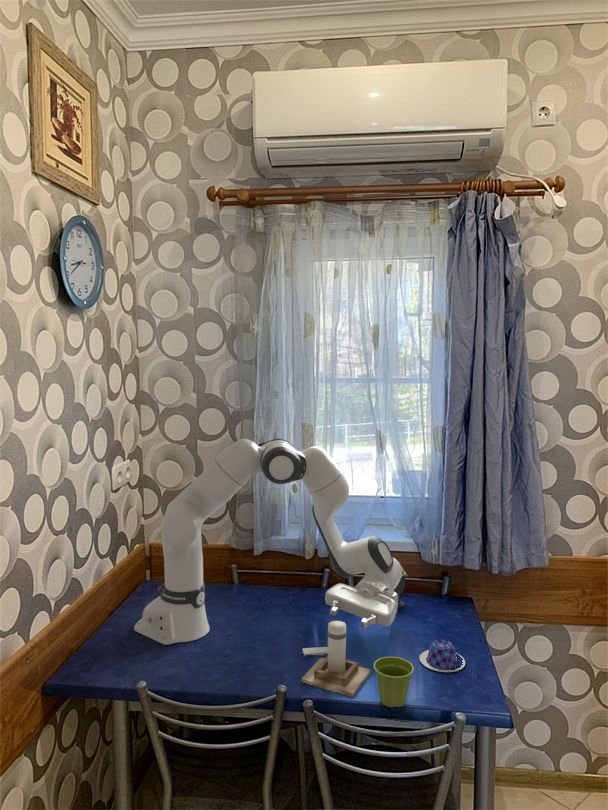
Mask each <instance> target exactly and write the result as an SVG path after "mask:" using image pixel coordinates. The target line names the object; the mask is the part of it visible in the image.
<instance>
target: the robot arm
mask: <svg viewBox="0 0 608 810" xmlns="http://www.w3.org/2000/svg"><path fill="white" fill-rule="evenodd" d="M259 473H262V474H263V476H264V477H265V478H266V479H267V480H268V481H270V483H273V484H276V485H285V484H289V483H292V482H295V481H299V480H301V481H302V482H303V484H304V485H305V487H306V489H307V490H308V492H309V493H310V495H311V498H312V502H313V505H312V508H311V512H312V516H313V519H314V521H315V524H316V527H317V530H318V531H319V532H318V533H320V536H321V538H322V541H323V543H324V546H325V548H326V550H327V552H328V555H329V559H330V563H331V567H332V568H333V570H334V572H335V573H336V574H337V575H339V576H340V577H342V578H344V579H348V578H352V577H354V576H357V575H359V574H364V576H363V578H361V580H360V581H359V582H358V583H357V584H356V585H355V586H352V585H349V584H346V583H342V582H338V583H337V584H335V585H333V586H332V587H330V588H328V590H327V591H326V592H325V597H324V598H325V600H324V601H325V604H326V605H327V606H328V605H329V606H330V607H331V608H330V610H329V615H331V616H333V617H336V616H337V615H338V612H339V611H338V610H341V611H344V612H346V613H349V614H352V615H354V616H356V617H359V618H362V620H361V622H360V627H361V628H364V629H367V628H368V626H372V625H376V624H378V625H380V626H382V627H390V626H392V623H393V622H394V620H395V618H396V614H397V612H398V608H399V607H398V594H397V593H396V592H394V591H393V590H394V589H395V588H396V586H397V585H398V583H399V582H400V579H401V576H402V568H403V566H402V564H401V562H400V561H398V560H397V559H396V558H395V557H393V555H392V554H393V553H392V551H391V549H390V547H389V546H388V544H387V543H386V542H385V541H384V540H383V539H382V538H381V537H379V536H376V535H372V536H367V537H363V538H361V539H358V540H354V541H351V542H347V541H345V540H343V538H342V535H341V533H340V530H339V528H338V526H337V524H336V521H335V514H336V513H337V512H338V511H339V510H340V509H341V508H342V507H343V506H344V505H345V503H346V502H347V500H348V499H349V493H350V487H349V484H348V481H347V479H346V477H345V476H344V474H343V472H342V471H341V470H340V468H339V466H338V465H337V464H336V462H335V461H334V459H333V458H332V456H330V455H329V453H328V452H327V451H326V450H325V449H324V448H323V447H321V446H310V447H307V448H306V449H304V450H297V449H296V448H295V447H294V446H293V444H291V443H290V442H289V441H288V440H286V439H281V438H275V439H271V440H268V441H266V442H265V441H264V442H260V443H259V444H256V443H255V442H254V441H252V440H250V439H248V438H240V439H238V440H237V441H235V442H233V443H232V444H231V445H230V446H228V447H227V448H226V449H224V450H223V451H222V452H221V453H220V454H219V455H218V456H217V458H215V459H214V460H213V461H212V462H211V463H210V464H209V466H207V467H206V468H205V470H203V471H202V472H201V473H200V474H199V475H198V477H197V478H196V479H195V480H193V481H192V482H190V484H189V485H188V486H187V487H185V488H184V489H183V490H182V491H181V492H180V493H179V494H177V496H176V497H175V498H174V499H172V501H171V502H169V504H168V506H167V508H166V510H165V513H164V515H163V518H162V519H161V524H160V531H161V534H160V535H161V546H162V550H163V551H162V553H163V560H164V561H163V562H164V566H163V567H164V583H163V584H161V585H160V586H159V587H157V592H160V591H161V592H160V595H159V596H157V597H156V598H155V599H153V600H152V601H151V602H150V603H148V604H147V605H146V606H145V607H144V609H143V611H142V617H141V618H140V619H139V620H138V621H137V622H136V623H135V625H134V627H133V631H135V632H137V633H139V634H141V635H143V636H144V637H147V638H149V639H151V640H154V641H156V642H158V643H160V644H162V645H164V646H165V645H166V646H167V645H171V644H176V643H187V642H188V643H189V642H192V641H195V640H199V639H201V638H202V637H204V636H206V635H207V634H208V633H209V632H210V623H209V622H208V621H209V620H208V618H207V617H208V616H207V612H206V606H205V601H206V584H205V581H204V556H203V545H202V544H203V542H202V541H203V540H202V539H203V538H202V526H203V524H204V523H205V521H206V520H208V518H209V517H210V516H211V515H213V514H214V513H215V512H217V510H219V509H220V508H221V507H223V506H225V505H226V504H227V503H228V502H229V501H230V500H231V499H232V497H234V495H236V493H237V492H239V490H240V489H242V487H243V486H245V484H246V483H247V482H248V481H249V479H251V478H252V477H253V476H255V475H257V474H259ZM399 562H400V563H399Z"/></svg>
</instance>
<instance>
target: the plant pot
mask: <svg viewBox="0 0 608 810" xmlns="http://www.w3.org/2000/svg"><path fill="white" fill-rule="evenodd" d="M373 669H374V671H375V675H376V677H377V679H376V680H377V684H378V685H377V687H378V693H379V694H378V695H379V701H380V703H381V704H382V705H384V706H386V707H387V708H388V707H389V708H394V707H396V708H401V707H403V706H405V704H406V702H407V695H408V690H409V684H410V679H411V677H412V674H413V673H414V670H415V667H414V665H413V664H412V662H410V661H408V660H407V659H404V658H402V657H398V656H383V657H379V658H378V659H376V660H375V661H374V662H373Z"/></svg>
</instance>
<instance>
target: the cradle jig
mask: <svg viewBox="0 0 608 810" xmlns="http://www.w3.org/2000/svg"><path fill="white" fill-rule="evenodd" d="M371 670H372V669H369V668H366V667H362V666H359V662H356V661H353V660H348V659H345V675H344V676H341V675H337V674H334V673H330V672H328V655H326V657H323V656H321V657H320V658H319V659H318V660H317V661H316V662H315V664H314V665H313V666H312V667H310V669H309V670H307V672H306V673H305V674H304V676H303V677H302V678H301V680H300V681H301V682H303V683H302V684H304V683H307V684H306V685H308V684H310V685H309V686H311V685H314V686H313V687H315V686H317V687H316V688H318V687H320V689H322V688H323V690H326V689H327V690H326V691H329V690H330V692H334V693H336V692H337V694H340V695H345V696H348V697H351V698H354V697H355V695H356V694H357V693H358V691H359V690H360V689H361V687H362V686H363V685H364V683H365V682H366V680H367V679H368V677H369V676H370V675H371V673H372V671H371ZM301 682H300V683H301Z"/></svg>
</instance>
